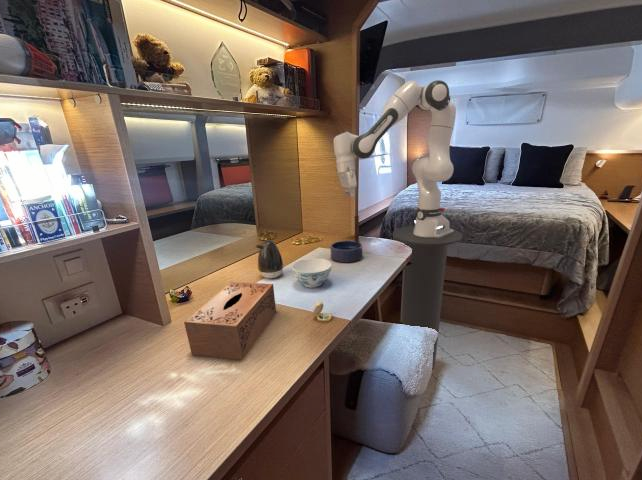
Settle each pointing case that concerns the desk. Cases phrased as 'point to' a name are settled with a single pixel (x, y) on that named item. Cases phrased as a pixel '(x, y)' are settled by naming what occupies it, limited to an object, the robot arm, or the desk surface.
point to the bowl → (346, 251)
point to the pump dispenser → (269, 260)
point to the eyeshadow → (323, 316)
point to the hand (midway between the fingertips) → (350, 196)
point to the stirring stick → (357, 228)
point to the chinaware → (312, 271)
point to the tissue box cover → (231, 320)
